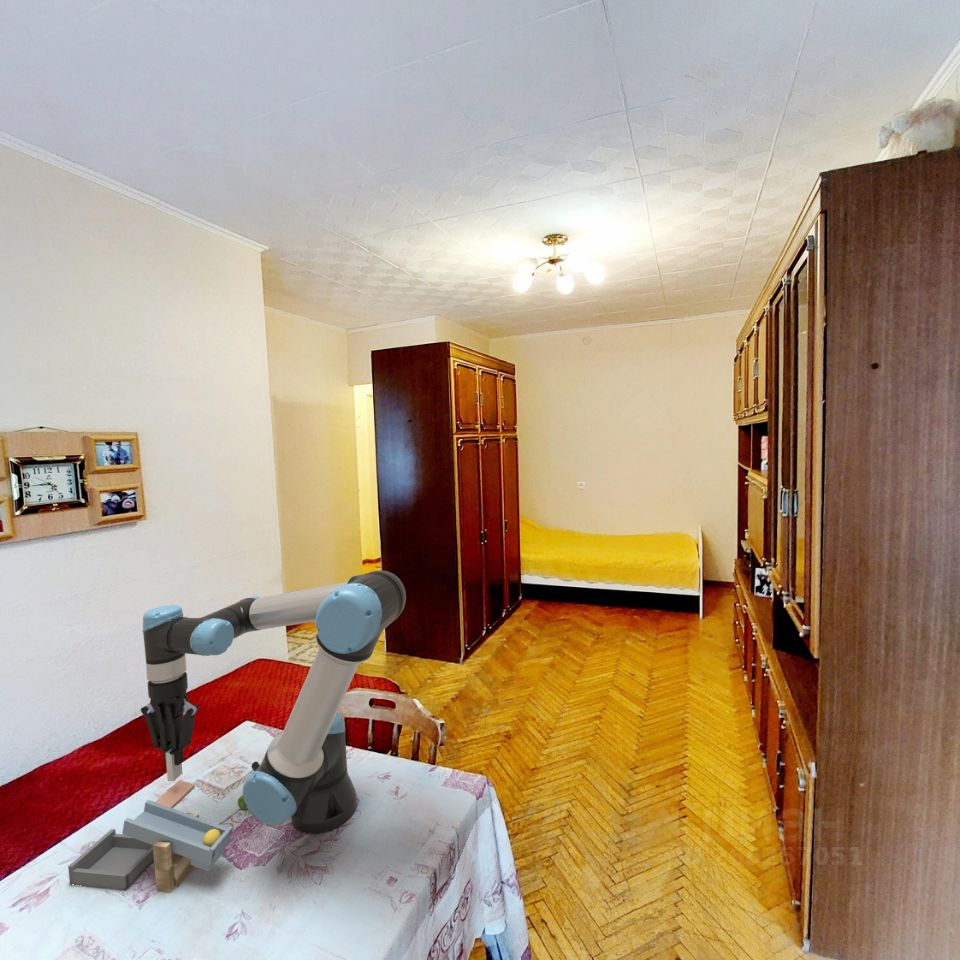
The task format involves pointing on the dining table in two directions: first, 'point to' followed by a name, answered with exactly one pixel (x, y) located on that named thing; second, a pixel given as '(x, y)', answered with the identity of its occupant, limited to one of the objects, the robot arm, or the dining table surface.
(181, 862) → the fulcrum
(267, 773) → the robot arm
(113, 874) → the tray
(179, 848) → the lever
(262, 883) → the dining table surface
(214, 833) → the ball
